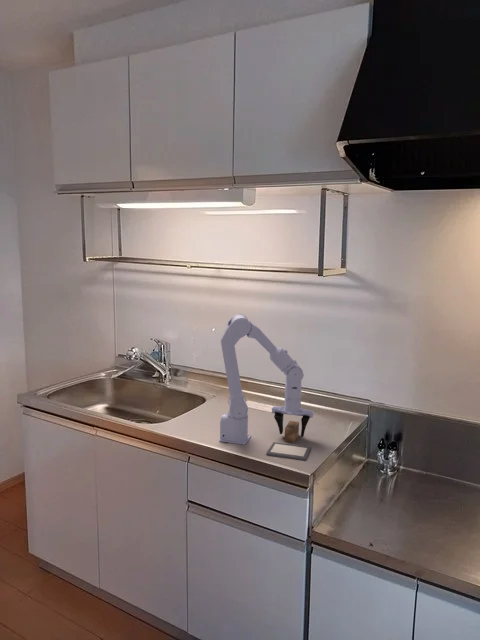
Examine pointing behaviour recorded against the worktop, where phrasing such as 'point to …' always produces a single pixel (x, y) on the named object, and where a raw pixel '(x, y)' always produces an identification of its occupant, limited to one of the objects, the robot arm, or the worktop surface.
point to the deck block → (291, 431)
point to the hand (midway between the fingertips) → (291, 434)
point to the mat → (288, 451)
